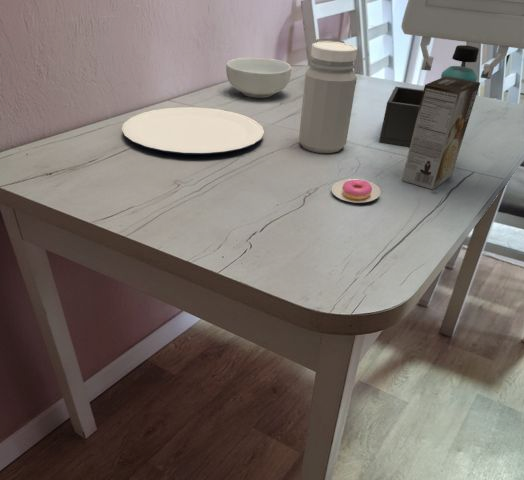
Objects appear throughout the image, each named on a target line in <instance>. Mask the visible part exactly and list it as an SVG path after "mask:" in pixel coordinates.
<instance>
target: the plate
mask: <svg viewBox="0 0 524 480" xmlns="http://www.w3.org/2000/svg"><path fill="white" fill-rule="evenodd" d="M121 131H122V133H123V136H124V137H125V138H126V139H128V140H129V141H130V142H132V143H134V144H136V145H139V146H140V147H141V146H142V147H143V148H146V149H150V150H154V151H157V152H158V151H159V152H163V153H171V154H179V155H214V154H215V155H217V154H225V153H231V152H236V151H241V150H243V149H245V148H249V147H252V146H254V145H255V144H257V143H258V142H259V141H261V140H262V139H263V137H264V135H265V130H264V128H263V125H261V124H260V123H259V122H257V121H256V120H254V119H253V118H250V117H249V116H247V115H244V114H241V113H238V112H234V111H228V110H223V109H219V108H210V107H192V106H189V107H188V106H181V107H168V108H159V109H152V110H148V111H145V112H140V113H139V114H136V115H134V116H131V117H130V118H129V119H127V120H126V121H125V122H123V124H122V127H121Z"/></svg>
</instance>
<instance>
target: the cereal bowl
mask: <svg viewBox="0 0 524 480" xmlns="http://www.w3.org/2000/svg"><path fill="white" fill-rule="evenodd" d="M225 69H226V70H225V71H226V78H227V80H228V82H229V84H230V85H231V87H232V88H234V89H235V90H236V91H238V92H241V93H242V94H243V96H246V97H248V98H255V99H265V98H266V99H268V98H271V97H273V95H274V94H277V93H280V92H281V91H283V90H284V89H285V88H286V87H287V86H288V85H289V83H290V81H291V74H292V65H291V64H289V63H288V62H287V61H284V60H280V59H274V58H268V57H256V56H255V57H254V56H253V57H252V56H251V57H237V58H233V59H230V60H228V61H226V64H225Z"/></svg>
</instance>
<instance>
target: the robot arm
mask: <svg viewBox="0 0 524 480" xmlns="http://www.w3.org/2000/svg"><path fill="white" fill-rule="evenodd" d="M400 28H401V30H402V32H403V34H404V35H409V36H414V37H415V36H417V37H421V38H420V39H421V40H420V44H419V45H420V50H421V53H422V57H423V60H422V64H421V68H420V69H421V71H430V72H431V70H432V66H433V62H434V59H435V58H434V56H430V55H429V51H428V46H430V44H431V41H432V38H433V39H441V40H449V41H456V42H464V43H472V44H479V45H489V46H490V45H491V46H496V47H497V48H496V54H497V55H496V57H495V58H494V59H493V60H492V61H491V62H490V63H484V65H483V68H482V71H481V74H480V78H481V79H487V80H491V78H492V75H493V73H494V70H495V68H497V66H498V65H499V64H501V62H502V61H503V59H505V57H506V56H507V53H508V51H509V48H513V49H521V50H524V0H407V3H406V7H405V10H404V14H403V17H402V21H401V25H400Z"/></svg>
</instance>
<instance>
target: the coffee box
mask: <svg viewBox="0 0 524 480" xmlns="http://www.w3.org/2000/svg"><path fill="white" fill-rule="evenodd" d="M480 85H481V82H479V81H476V82H474V81H468V80H463V79H458V78H452V77H447V76H445V77H443V78H441V77H440V78H437V79H435V80H433V81H430V82H429V83H425V84H424V87H423V90H424V91H423V95H422V99H421V103H420V107H419V112H418V116H417V120H416V124H415V128H414V132H413V136H412V140H411V145H410V147H409V149H408V154H407V158H406V160H405V161H406V162H405V165H404V170H403V173H402V178H401V181H403V182H405V183H409V184H412V185H415V186H418V187H422V188H425V189H428V190H432V191H433V190H436V188H438V187H439V186H440V185H442V184H443V183H444V182H445V181H447V180H448V179H449V178H451V177H452V176H453V173H454V169H455V166H456V162H457V159H458V156H459V153H460V150H461V146H462V143H463V140H464V137H465V134H466V130H467V127H468V124H469V121H470V118H471V115H472V111H473V108H474V104H475V102H476V98H477V94H478V92H479V91H478V90H479V89H480Z"/></svg>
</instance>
